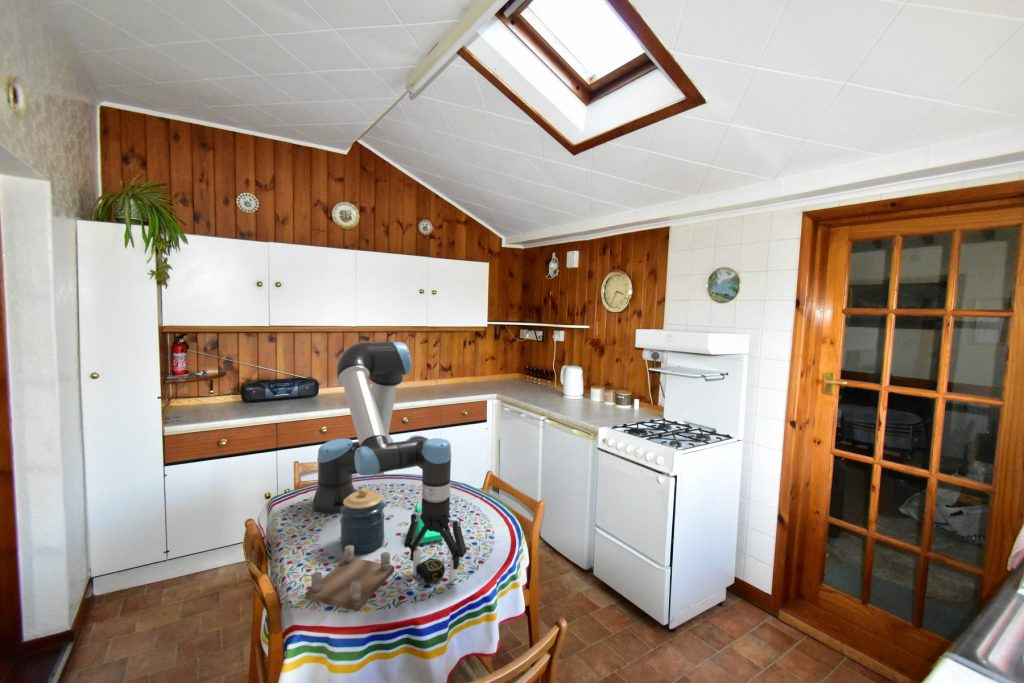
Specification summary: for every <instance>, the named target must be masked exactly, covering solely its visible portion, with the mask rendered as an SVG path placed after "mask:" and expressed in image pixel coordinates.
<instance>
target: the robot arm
mask: <svg viewBox="0 0 1024 683" xmlns="http://www.w3.org/2000/svg"><path fill="white" fill-rule="evenodd" d="M411 372H412V357H411V353H410V350H409V348H408V346H407V345H406V343H404V342H402V341H386V342H385V341H384V342H383V341H382V342H381V341H379V342H378V341H377V342H375V341H374V342H373V341H372V342H366V341H365V342H358V343H355V344H353V345H351V346H349V347H347V349H345V351H343V353H342V354H341V356H340V358H339V359H338V362H337V366H336V376H337V380H338V384H339V385H340V386H341V387H343V390H344V393H345V398H346V401H347V403H348V408H349V411H350V415H351V418H352V421H353V422H352V423H353V426H354V429H355V433H356V434H355V435H356V438H357V441H352V439H350V438H347V437H346V438H336V439H332V440H329V441H326V442H325V443H323V444H322V445H320V446H319V448H318V451H317V461H316V462H317V488H316V491H315V493H314V496H313V498H312V510H313V511H314V512H317V513H319V514H327V515H329V514H338V513H341V512H340V509H341V507H342V506H343V505H344V504H343V501H344V499H345V498H346V497H348V496H349V495H350V494H352V493H354V492H356V490H355V487H354V484H353V475H357V474H358V475H360V476H371V475H372V476H373V475H375V476H376V475H378V474H382V473H387V472H392V471H397V470H404V469H405V470H406V469H411V468H413V467H418V468H419V469H421V470H422V478H421V479H422V480H421V481H422V482H421V488H422V489H421V496H422V498H421V505H422V513H419V512H418V511H415V510H414V511H415V512H413V513H412V514H411V515H410V525H409V527H408V531H407V535H406V537H405V541H404V543H403V544H404V548H409V550H410V560H411V562H412V564H413V565H412V568H413V569H412V575H414V576H417V574H418V573H417V571H416V567H417V565H419V564H420V563H421V546H419V545H420V544H421V543H420V541H421V540H422V538H423V537H424V535H425V533H426V532H427V530H429V531H435V532H438V533H440V535H441V536H442V537H443V540H444V542H445V545H446V546H447V548H448V550H449V553H450V554H451V556H450V558H449V583H453V582H454V580H456V577H457V569H458V568H459V567H460V558H461V559H463V558H464V556H465V555H466V553H467V551H468V550H467V548H466V543H465V538H464V536H463V532H462V528H461V521H462V520H461V517H456V518H453V517H451V514H450V511H451V509H450V508H451V506H450V504H451V498H450V496H451V470H452V467H451V466H452V449H451V448H452V447H451V442H450V441H449V440H448V439H445V438H438V437H435V438H427V437H424V436H422V435H419V434H417V435H416V434H415V435H411V436H410V437H409V438H407V439H406V440H402V441H394V440H393V438H392V437H391V435H390V433H389V432H390V428H391V423H392V422H391V421H392V415H393V410H394V407H395V406H394V405H395V399H396V394H397V389H398V388H397V387H398V386H399V385H401V383H402V382H403V379H404V376H408V375H409V374H410V373H411ZM370 382H371V384H370ZM420 518H421V520H422V521H423V523H424V526H423V527H422V529H421V531H420V533H419V534H418V536H417V537H416V536H415V531H416V528H417V525H418V522H419V520H420ZM449 524H450V526H449ZM450 527H451V528H452V532H451V528H450ZM452 533H453V534H452ZM414 538H415V539H414ZM413 540H414V541H413Z"/></svg>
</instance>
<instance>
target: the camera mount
mask: <svg viewBox="0 0 1024 683" xmlns="http://www.w3.org/2000/svg"><path fill="white" fill-rule="evenodd" d="M414 507H415V508H414V512H415V511H418V512H419V513H422V504H418V505H415V506H414ZM414 512H413V513H414ZM423 526H424V523H423V521H422V520H421V518H420V520H419V522H418V525H417V528H416V531H415V534H414V536H415V538H416V537H417V536H418V534H419V533H420V531H421V529H422V527H423ZM440 540H444V538H443V537H442V536H441V535H440V533H438V532H435V531H429V530H427V532H426V533H425V535H424V537H423V538H422V540H421V541H420V543H419V544H423V543H429V542H435V541H440Z"/></svg>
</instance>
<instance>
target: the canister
mask: <svg viewBox="0 0 1024 683" xmlns="http://www.w3.org/2000/svg"><path fill="white" fill-rule="evenodd" d="M343 504H344V505H343V506H342V507H341V509H340V512H339V513H340V514H341V517H340V518H339V522H340V539H339V540H340V541H339V544H340V548H341V551H343V552H344V553H345V547H346V546H348V545H353V546H354V555H364V554H365V555H366V554H369V553H372V552H375V551H377V550H378V549H380V548H381V547H382V546H383V544H384V542H385V541H384V540H385V516H386V515H385V512H384V509H385V506H386V504H385V502H384V501H383V496H382V495H381V494H379V493H377V492H376V491H374V490H368V489H367V488H365V487H362V488H360V489H359V490H358V491H355V492H354V493H352V494H350V495H349V496H348V497H346V498H345V499H344V501H343Z"/></svg>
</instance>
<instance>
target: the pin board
mask: <svg viewBox="0 0 1024 683" xmlns="http://www.w3.org/2000/svg"><path fill="white" fill-rule="evenodd" d="M390 560H391V555H390V552H388V551H384V552H381V554H380V562H377V561H371V560H367V559H363V558H356V557H355V554H354V546H353V545H348V546H346V547H345V552H344V559H343V560H342V561H341V562H340V563H338V564H337V565H336V566H335V567H333V569H331V570H330V571H329V572H328V573H327V574H325V575H324V576H323V574H322V572H320V571H316V572H313V573H312V574H311V576H310V577H311V579H310V580H311V583H310V585H311V587H310V588H309V589H308V590H307V591H306V592H305V599H306V600H311V601H314V602H319V603H323V604H326V603H327V605H331V606H336V607H339V608H344V609H349V610H352V611H356V612H358V611H359V610H360V609H361V608H362V607H363V606H364V605H365V604H366V602H368V601H369V599H370V598H371V597H372V596H373V595H374V594H375V593H376V592H377V591H378V590H379V588H381V587H382V585H383V584H384V583H385V582H386V581H387V580H388V579H389V578H390V577H391V575H392V574H393V573H394V572H395V565H391V561H390Z"/></svg>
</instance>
